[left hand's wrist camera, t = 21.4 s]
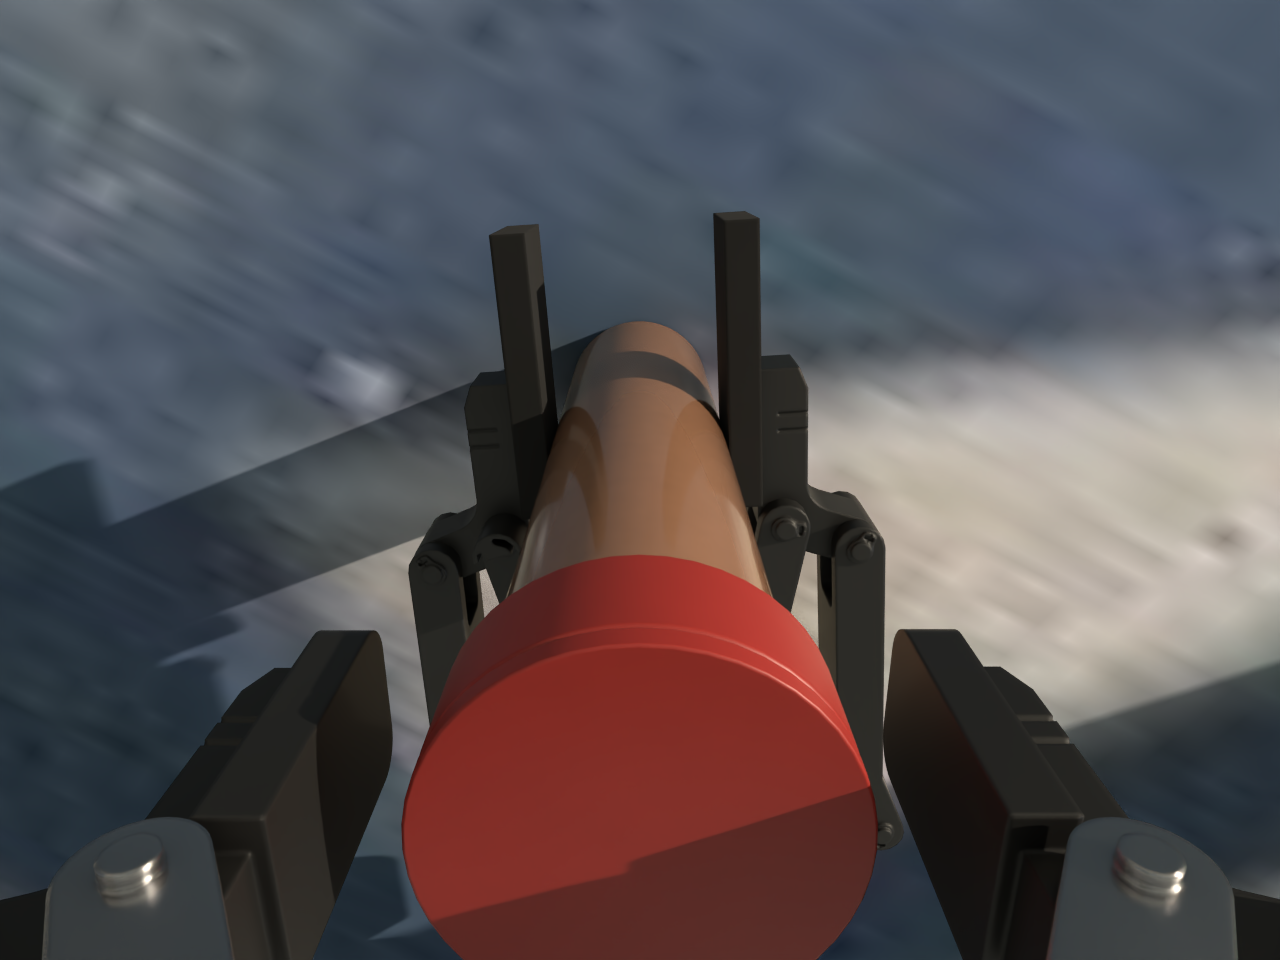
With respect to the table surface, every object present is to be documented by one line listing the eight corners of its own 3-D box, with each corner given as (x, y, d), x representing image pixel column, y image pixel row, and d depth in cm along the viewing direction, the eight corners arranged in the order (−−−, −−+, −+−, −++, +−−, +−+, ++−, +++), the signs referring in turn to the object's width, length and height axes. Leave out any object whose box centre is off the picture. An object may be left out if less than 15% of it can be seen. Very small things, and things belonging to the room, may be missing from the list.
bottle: (589, 462, 28) (506, 964, 11) (559, 336, 27) (407, 677, 9) (716, 437, 28) (847, 911, 10) (693, 308, 26) (798, 607, 9)
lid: (911, 759, 11) (967, 885, 9) (606, 937, 12) (601, 1083, 10) (680, 471, 10) (689, 548, 8) (359, 700, 11) (298, 817, 9)
